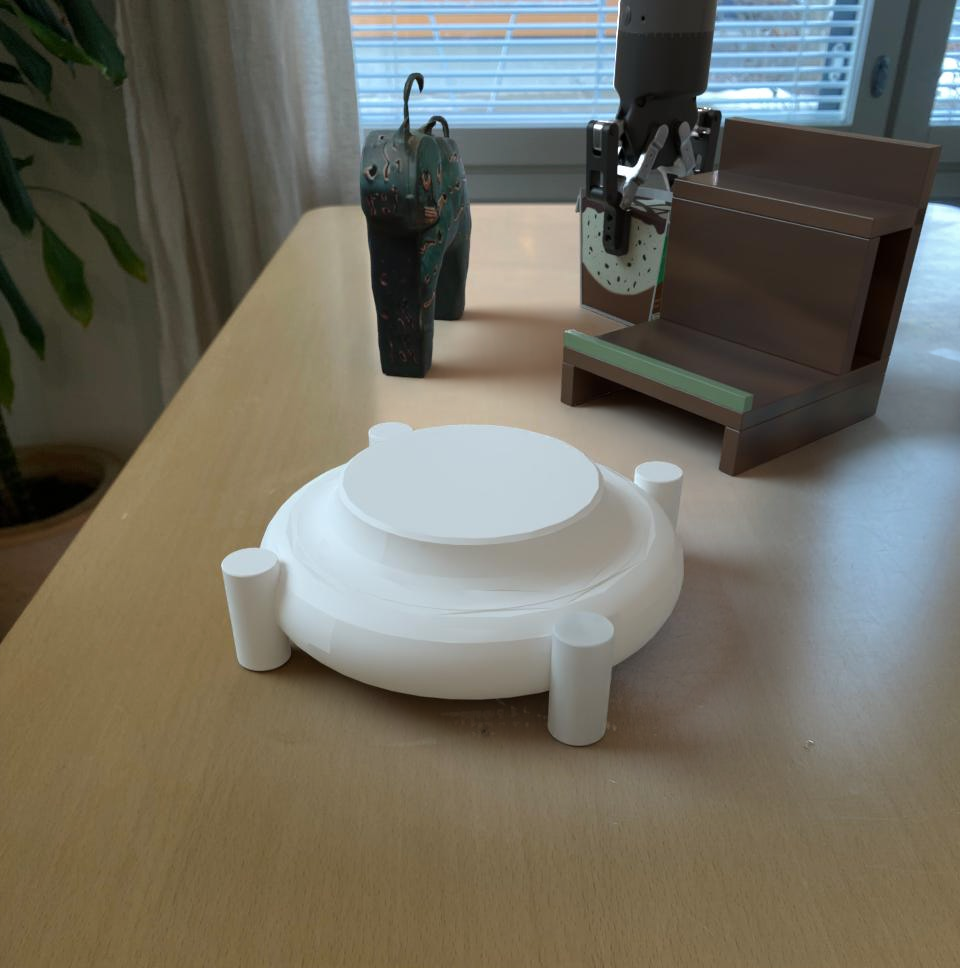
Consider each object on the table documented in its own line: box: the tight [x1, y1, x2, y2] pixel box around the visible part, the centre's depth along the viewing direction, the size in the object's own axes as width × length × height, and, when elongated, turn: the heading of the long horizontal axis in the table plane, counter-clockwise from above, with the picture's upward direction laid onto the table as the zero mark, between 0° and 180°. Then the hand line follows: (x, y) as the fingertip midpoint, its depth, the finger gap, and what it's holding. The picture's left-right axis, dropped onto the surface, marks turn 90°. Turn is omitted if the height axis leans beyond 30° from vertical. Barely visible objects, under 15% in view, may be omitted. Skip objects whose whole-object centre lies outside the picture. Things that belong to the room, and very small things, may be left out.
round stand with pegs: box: [220, 421, 685, 747], centre depth 48 cm, size 24×24×7 cm
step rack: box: [560, 116, 943, 477], centre depth 66 cm, size 16×16×17 cm
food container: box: [574, 185, 674, 327], centre depth 86 cm, size 12×6×10 cm, turn 34°
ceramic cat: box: [359, 72, 473, 378], centre depth 77 cm, size 20×6×20 cm, turn 168°
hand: (644, 247), depth 86 cm, fingers open, 6 cm apart
